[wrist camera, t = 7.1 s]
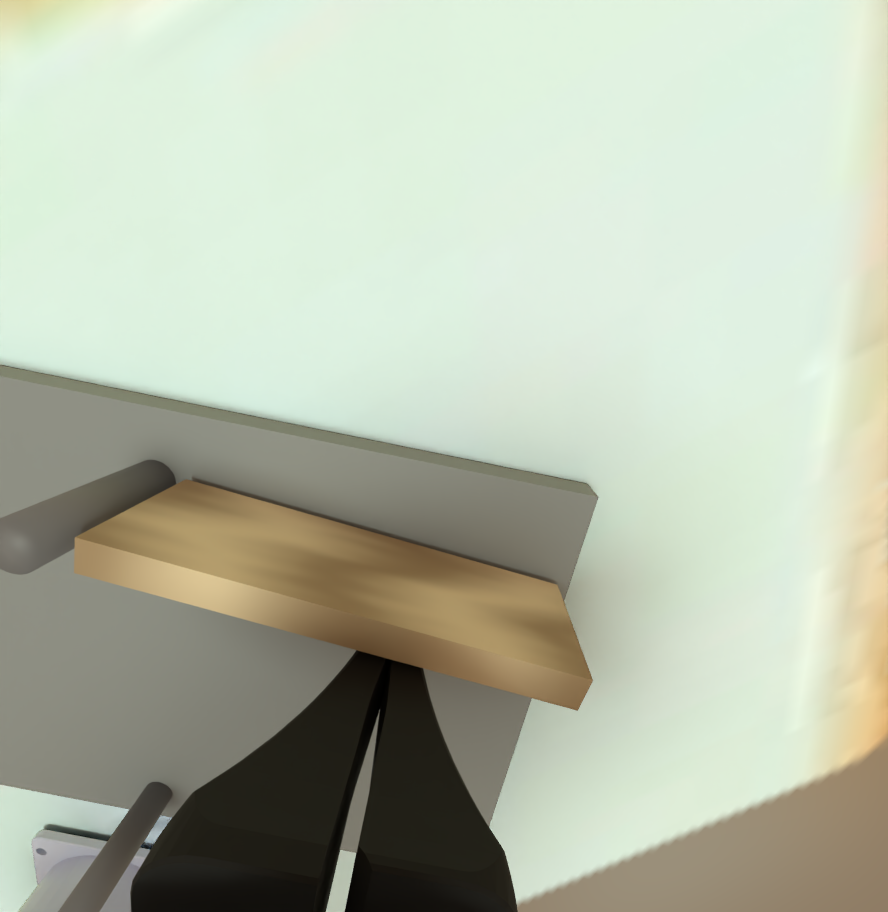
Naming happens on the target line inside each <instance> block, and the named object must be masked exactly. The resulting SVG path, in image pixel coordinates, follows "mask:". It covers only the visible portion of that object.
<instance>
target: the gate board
mask: <svg viewBox="0 0 888 912" xmlns="http://www.w3.org/2000/svg"><path fill="white" fill-rule="evenodd" d="M185 479H187V480H191V481H194V482H198V483H201V484H205V485H208V486H212V487H215V488H219V489H223V490H226V491H230V492H233V493H237V494H240V495H244V496H247V497H251V498H254V499H258V500H261V501H265V502H268V503H272V504H275V505H279V506H282V507H286V508H289V509H293V510H296V511H300V512H303V513H307V514H310V515H314V516H318V517H321V518H325V519H328V520H332V521H335V522H339V523H342V524H346V525H349V526H353V527H356V528H360V529H363V530H367V531H370V532H374V533H377V534H381V535H384V536H388V537H391V538H395V539H398V540H402V541H405V542H409V543H413V544H416V545H420V546H423V547H427V548H430V549H434V550H437V551H441V552H444V553H448V554H451V555H455V556H458V557H462V558H465V559H469V560H472V561H476V562H479V563H483V564H486V565H490V566H493V567H497V568H500V569H504V570H508V571H511V572H515V573H518V574H522V575H525V576H529V577H532V578H536V579H539V580H543V581H546V582H550V583H553V584H557V585H558V588H559V590H560V593H561V596H562V598H563V601H564V599H565V596H566V593H567V590H568V587H569V584H570V581H571V578H572V575H573V572H574V569H575V566H576V563H577V560H578V557H579V554H580V551H581V548H582V545H583V542H584V539H585V536H586V533H587V530H588V527H589V524H590V521H591V518H592V515H593V512H594V509H595V506H596V503H597V500H598V496H597V495H596V494H595V492H594V491H593V490H592V489H591V487H590V486H589V485H588V484H585V483H580V482H575V481H571V480H566V479H561V478H556V477H551V476H546V475H541V474H536V473H531V472H526V471H521V470H516V469H511V468H506V467H501V466H496V465H491V464H487V463H482V462H477V461H472V460H467V459H462V458H457V457H452V456H447V455H442V454H437V453H432V452H427V451H422V450H417V449H412V448H407V447H403V446H398V445H393V444H388V443H383V442H378V441H373V440H368V439H363V438H358V437H353V436H348V435H343V434H338V433H333V432H328V431H324V430H319V429H314V428H309V427H304V426H299V425H294V424H289V423H284V422H279V421H274V420H269V419H264V418H259V417H254V416H249V415H244V414H240V413H235V412H230V411H225V410H220V409H215V408H210V407H205V406H200V405H195V404H190V403H185V402H180V401H175V400H170V399H165V398H160V397H156V396H151V395H146V394H141V393H136V392H131V391H126V390H121V389H116V388H111V387H106V386H101V385H96V384H91V383H86V382H81V381H76V380H72V379H67V378H62V377H57V376H52V375H47V374H42V373H37V372H32V371H27V370H22V369H17V368H12V367H7V366H2V365H0V785H6V786H11V787H16V788H21V789H27V790H32V791H37V792H42V793H47V794H53V795H58V796H63V797H68V798H73V799H79V800H84V801H89V802H94V803H100V804H105V805H110V806H115V807H120V808H126V809H130V810H129V811H128V813H127V814H126V816H125V817H124V819H123V820H122V821H121V823H120V824H119V826H118V827H117V829H116V830H115V831H114V833H113V834H112V836H111V837H110V838H109V840H108V841H107V843H106V844H105V846H104V847H103V848H102V850H101V851H100V853H99V854H98V856H97V857H96V858H95V860H94V861H93V863H92V864H91V866H90V867H89V868H88V870H87V871H86V873H85V874H84V875H83V877H82V878H81V880H80V881H79V883H78V884H77V885H76V887H75V888H74V890H73V891H72V893H71V894H70V895H69V897H68V898H67V900H66V901H65V903H64V904H63V905H62V907H61V908H60V910H59V911H58V912H100V910H101V909H102V907H103V905H104V904H105V902H106V901H107V899H108V897H109V896H110V894H111V893H112V891H113V890H114V888H115V886H116V885H117V883H118V882H119V880H120V878H121V877H122V875H123V874H124V872H125V870H126V869H127V867H128V866H129V864H130V863H131V861H132V859H133V858H134V856H135V855H136V853H137V851H138V850H139V848H140V847H141V845H142V844H143V842H144V840H145V839H146V837H147V836H148V834H149V832H150V831H151V829H152V828H153V826H154V825H155V823H156V821H157V820H158V818H159V817H160V815H162V816H167V817H173V816H174V815H175V814H176V812H177V811H178V810H179V809H180V807H181V806H182V805H183V804H184V802H185V801H186V800H187V799H188V797H189V796H190V795H191V794H192V793H193V792H194V791H195V790H197V789H198V788H200V787H201V786H203V785H205V784H206V783H208V782H209V781H211V780H212V779H214V778H215V777H217V776H219V775H220V774H222V773H223V772H225V771H226V770H228V769H229V768H231V767H232V766H234V765H235V764H237V763H238V762H240V761H241V760H242V759H244V758H245V757H246V756H248V755H249V754H250V753H252V752H253V751H254V750H256V749H257V748H258V747H260V746H261V745H262V744H264V743H265V742H266V741H268V740H269V739H270V738H272V737H273V736H274V735H275V734H277V733H278V732H279V731H280V730H281V729H283V728H284V727H285V726H286V725H287V724H288V723H289V722H291V721H292V720H293V719H294V718H295V717H296V716H297V715H298V714H300V713H301V712H302V711H303V710H304V709H305V708H306V707H307V706H308V705H309V704H310V703H311V702H312V701H313V700H314V699H315V698H316V697H317V696H318V695H319V694H320V693H321V692H322V691H323V690H324V689H325V688H326V687H327V686H328V684H329V683H330V682H331V681H332V680H333V679H334V678H335V676H336V675H337V674H338V673H339V672H340V671H341V670H342V668H343V667H344V666H345V665H346V663H347V662H348V661H349V660H350V658H351V657H352V656H353V654H354V653H355V652H356V651H357V650H354V649H351V648H347V647H343V646H340V645H336V644H332V643H329V642H325V641H321V640H318V639H314V638H310V637H307V636H303V635H299V634H296V633H292V632H288V631H285V630H281V629H277V628H274V627H270V626H266V625H263V624H259V623H255V622H252V621H248V620H244V619H241V618H237V617H233V616H230V615H226V614H222V613H219V612H215V611H211V610H208V609H204V608H200V607H197V606H193V605H189V604H186V603H182V602H178V601H175V600H171V599H167V598H164V597H160V596H156V595H153V594H149V593H145V592H142V591H138V590H134V589H131V588H127V587H123V586H120V585H116V584H113V583H109V582H105V581H102V580H98V579H94V578H91V577H87V576H83V575H80V574H76V573H74V548H75V537H76V536H78V535H80V534H82V533H84V532H86V531H88V530H90V529H92V528H93V527H95V526H97V525H99V524H101V523H103V522H105V521H107V520H109V519H111V518H113V517H114V516H116V515H118V514H120V513H122V512H124V511H126V510H128V509H130V508H132V507H134V506H136V505H137V504H139V503H141V502H143V501H145V500H147V499H149V498H151V497H153V496H155V495H157V494H158V493H160V492H162V491H164V490H166V489H168V488H170V487H172V486H174V485H176V484H178V483H180V482H181V481H183V480H185ZM423 670H424V674H425V679H426V683H427V687H428V691H429V695H430V698H431V702H432V705H433V708H434V712H435V715H436V718H437V721H438V724H439V726H440V729H441V732H442V734H443V737H444V739H445V742H446V744H447V747H448V749H449V752H450V754H451V756H452V759H453V761H454V763H455V765H456V767H457V769H458V771H459V773H460V775H461V777H462V779H463V781H464V783H465V785H466V787H467V789H468V791H469V793H470V795H471V797H472V799H473V800H474V802H475V804H476V806H477V808H478V809H479V811H480V813H481V815H482V816H483V818H484V820H485V821H486V823H487V825H488V826H489V825H490V822H491V819H492V816H493V813H494V810H495V807H496V804H497V801H498V798H499V795H500V792H501V789H502V786H503V783H504V780H505V777H506V774H507V771H508V768H509V765H510V762H511V759H512V756H513V753H514V750H515V747H516V743H517V740H518V737H519V734H520V731H521V728H522V725H523V722H524V719H525V716H526V713H527V710H528V707H529V704H530V701H531V698H530V697H526V696H523V695H519V694H515V693H512V692H508V691H504V690H501V689H497V688H493V687H490V686H486V685H482V684H479V683H475V682H471V681H468V680H464V679H460V678H457V677H453V676H449V675H446V674H442V673H438V672H435V671H431V670H427V669H424V668H423ZM379 712H380V710H379ZM378 720H379V714H378V717H377V720H376V723H375V726H374V730H373V733H372V736H371V739H370V742H369V746H368V749H367V752H366V755H365V758H364V762H363V765H362V768H361V771H360V774H359V778H358V781H357V784H356V787H355V791H354V794H353V798H352V801H351V805H350V809H349V813H348V818H347V822H346V826H345V830H344V835H343V839H342V843H341V848H340V850H345V851H350V852H355V853H357V848H358V843H359V839H360V834H361V829H362V824H363V819H364V815H365V810H366V805H367V800H368V796H369V790H370V782H371V774H372V766H373V759H374V751H375V743H376V735H377V728H378Z"/></svg>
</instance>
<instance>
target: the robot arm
mask: <svg viewBox="0 0 888 912" xmlns="http://www.w3.org/2000/svg"><path fill="white" fill-rule="evenodd" d="M379 710H380V712H379ZM378 714H379V720H378V728H377V735H376V743H375V751H374V759H373V766H372V774H371V782H370V790H369V796H368V800H367V805H366V810H365V815H364V819H363V824H362V829H361V834H360V839H359V843H358V848H357V853H356V858H355V863H354V868H353V873H352V878H351V883H350V888H349V893H348V899H347V904H346V909H345V912H518V911H517V905H516V899H515V894H514V888H513V884H512V879H511V875H510V871H509V867H508V863H507V859H506V856H505V852H504V850H503V848H502V847H501V845H500V844H499V842H498V841H497V839H496V837H495V836H494V834H493V833H492V831H491V830H490V828H489V826H488V825H487V823H486V821H485V820H484V818H483V816H482V815H481V813H480V811H479V809H478V808H477V806H476V804H475V802H474V800H473V799H472V797H471V795H470V793H469V791H468V789H467V787H466V785H465V783H464V781H463V779H462V777H461V775H460V773H459V771H458V769H457V767H456V765H455V763H454V761H453V759H452V756H451V754H450V752H449V749H448V747H447V744H446V742H445V739H444V737H443V734H442V732H441V729H440V726H439V724H438V721H437V718H436V715H435V712H434V708H433V705H432V702H431V698H430V695H429V691H428V687H427V683H426V679H425V674H424V670H423V668H420V667H416V666H413V665H409V664H406V663H402V662H398V661H395V660H391V659H387V658H384V657H380V656H376V655H373V654H369V653H365V652H362V651H358V650H357V651H356V652H355V653H354V654H353V656H352V657H351V658H350V660H349V661H348V662H347V663H346V665H345V666H344V667H343V668H342V670H341V671H340V672H339V673H338V674H337V675H336V676H335V678H334V679H333V680H332V681H331V682H330V683H329V684H328V686H327V687H326V688H325V689H324V690H323V691H322V692H321V693H320V694H319V695H318V696H317V697H316V698H315V699H314V700H313V701H312V702H311V703H310V704H309V705H308V706H307V707H306V708H305V709H304V710H303V711H302V712H301V713H300V714H298V715H297V716H296V717H295V718H294V719H293V720H292V721H291V722H289V723H288V724H287V725H286V726H285V727H284V728H283V729H281V730H280V731H279V732H278V733H277V734H275V735H274V736H273V737H272V738H270V739H269V740H268V741H266V742H265V743H264V744H262V745H261V746H260V747H258V748H257V749H256V750H254V751H253V752H252V753H250V754H249V755H248V756H246V757H245V758H244V759H242V760H241V761H240V762H238V763H237V764H235V765H234V766H232V767H231V768H229V769H228V770H226V771H225V772H223V773H222V774H220V775H219V776H217V777H215V778H214V779H212V780H211V781H209V782H208V783H206V784H205V785H203V786H201V787H200V788H198V789H197V790H195V791H194V792H193V793H192V794H191V795H190V796H189V797H188V799H187V800H186V801H185V802H184V804H183V805H182V806H181V807H180V809H179V810H178V811H177V812H176V814H175V815H174V816H173V818H172V819H171V820H170V822H169V823H168V824H167V826H166V827H165V829H164V830H163V831H162V833H161V834H160V836H159V837H158V839H157V840H156V842H155V843H154V845H153V847H152V848H151V850H150V849H145V848H139V850H138V851H137V853H136V855H135V856H134V858H133V859H132V861H131V863H130V864H129V866H128V867H127V869H126V870H125V872H124V874H123V875H122V877H121V878H120V880H119V882H118V883H117V885H116V886H115V888H114V890H113V891H112V893H111V894H110V896H109V897H108V899H107V901H106V902H105V904H104V905H103V907H102V909H101V910H100V912H326V908H327V904H328V899H329V895H330V891H331V886H332V882H333V878H334V873H335V869H336V865H337V860H338V856H339V852H340V848H341V843H342V839H343V835H344V830H345V826H346V822H347V818H348V813H349V809H350V805H351V801H352V798H353V794H354V791H355V787H356V784H357V781H358V778H359V774H360V771H361V768H362V765H363V762H364V758H365V755H366V752H367V749H368V746H369V742H370V739H371V736H372V733H373V730H374V726H375V723H376V720H377V717H378ZM106 843H107V841H103V840H98V839H92V838H87V837H82V836H77V835H71V834H66V833H61V832H56V831H50V830H42V831H39V832H38V833H37V834H36V836H35V837H34V838H33V839H32V850H33V856H34V863H35V870H36V877H37V883H38V886H37V887H36V889H35V890H34V891H33V893H32V894H31V895H30V896H29V898H28V899H27V900H26V902H25V903H24V904H23V906H22V907H21V908H20V909H19V911H18V912H58V911H59V910H60V908H61V907H62V905H63V904H64V903H65V901H66V900H67V898H68V897H69V895H70V894H71V893H72V891H73V890H74V888H75V887H76V885H77V884H78V883H79V881H80V880H81V878H82V877H83V875H84V874H85V873H86V871H87V870H88V868H89V867H90V866H91V864H92V863H93V861H94V860H95V858H96V857H97V856H98V854H99V853H100V851H101V850H102V848H103V847H104V846H105V844H106Z"/></svg>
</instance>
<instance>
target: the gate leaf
mask: <svg viewBox="0 0 888 912" xmlns="http://www.w3.org/2000/svg"><path fill="white" fill-rule="evenodd" d="M74 573H76V574H80V575H83V576H87V577H91V578H94V579H98V580H102V581H105V582H109V583H113V584H116V585H120V586H123V587H127V588H131V589H134V590H138V591H142V592H145V593H149V594H153V595H156V596H160V597H164V598H167V599H171V600H175V601H178V602H182V603H186V604H189V605H193V606H197V607H200V608H204V609H208V610H211V611H215V612H219V613H222V614H226V615H230V616H233V617H237V618H241V619H244V620H248V621H252V622H255V623H259V624H263V625H266V626H270V627H274V628H277V629H281V630H285V631H288V632H292V633H296V634H299V635H303V636H307V637H310V638H314V639H318V640H321V641H325V642H329V643H332V644H336V645H340V646H343V647H347V648H351V649H354V650H358V651H362V652H365V653H369V654H373V655H376V656H380V657H384V658H387V659H391V660H395V661H398V662H402V663H406V664H409V665H413V666H416V667H420V668H424V669H427V670H431V671H435V672H438V673H442V674H446V675H449V676H453V677H457V678H460V679H464V680H468V681H471V682H475V683H479V684H482V685H486V686H490V687H493V688H497V689H501V690H504V691H508V692H512V693H515V694H519V695H523V696H526V697H530V698H534V699H537V700H541V701H545V702H548V703H552V704H556V705H559V706H563V707H567V708H570V709H574V710H578V709H579V707H580V705H581V703H582V701H583V699H584V697H585V695H586V693H587V691H588V689H589V687H590V685H591V683H592V681H593V679H592V677H591V674H590V671H589V669H588V666H587V663H586V661H585V658H584V655H583V652H582V650H581V647H580V644H579V642H578V639H577V636H576V634H575V631H574V628H573V625H572V623H571V620H570V617H569V615H568V612H567V609H566V607H565V604H564V601H563V598H562V596H561V593H560V590H559V588H558V585H557V584H553V583H550V582H546V581H543V580H539V579H536V578H532V577H529V576H525V575H522V574H518V573H515V572H511V571H508V570H504V569H500V568H497V567H493V566H490V565H486V564H483V563H479V562H476V561H472V560H469V559H465V558H462V557H458V556H455V555H451V554H448V553H444V552H441V551H437V550H434V549H430V548H427V547H423V546H420V545H416V544H413V543H409V542H405V541H402V540H398V539H395V538H391V537H388V536H384V535H381V534H377V533H374V532H370V531H367V530H363V529H360V528H356V527H353V526H349V525H346V524H342V523H339V522H335V521H332V520H328V519H325V518H321V517H318V516H314V515H310V514H307V513H303V512H300V511H296V510H293V509H289V508H286V507H282V506H279V505H275V504H272V503H268V502H265V501H261V500H258V499H254V498H251V497H247V496H244V495H240V494H237V493H233V492H230V491H226V490H223V489H219V488H215V487H212V486H208V485H205V484H201V483H198V482H194V481H191V480H187V479H185V480H183V481H181V482H180V483H178V484H176V485H174V486H172V487H170V488H168V489H166V490H164V491H162V492H160V493H158V494H157V495H155V496H153V497H151V498H149V499H147V500H145V501H143V502H141V503H139V504H137V505H136V506H134V507H132V508H130V509H128V510H126V511H124V512H122V513H120V514H118V515H116V516H114V517H113V518H111V519H109V520H107V521H105V522H103V523H101V524H99V525H97V526H95V527H93V528H92V529H90V530H88V531H86V532H84V533H82V534H80V535H78V536H76V537H75V548H74Z"/></svg>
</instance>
